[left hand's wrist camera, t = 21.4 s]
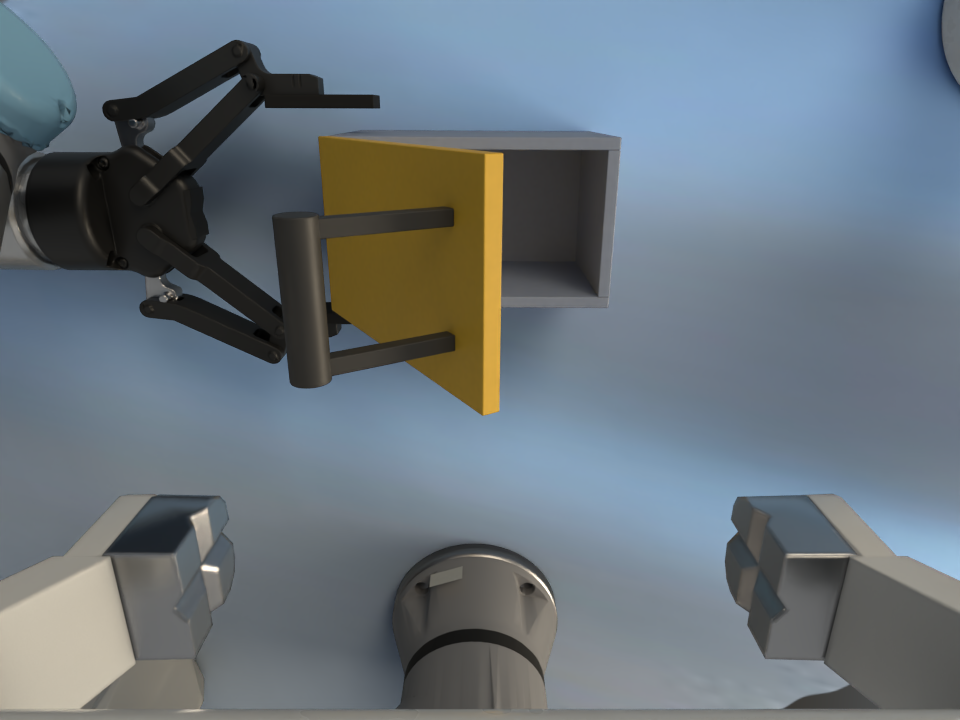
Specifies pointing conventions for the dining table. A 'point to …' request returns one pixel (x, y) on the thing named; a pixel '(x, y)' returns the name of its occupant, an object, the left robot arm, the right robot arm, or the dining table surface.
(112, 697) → the vase
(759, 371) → the dining table surface
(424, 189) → the lid
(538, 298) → the chest
